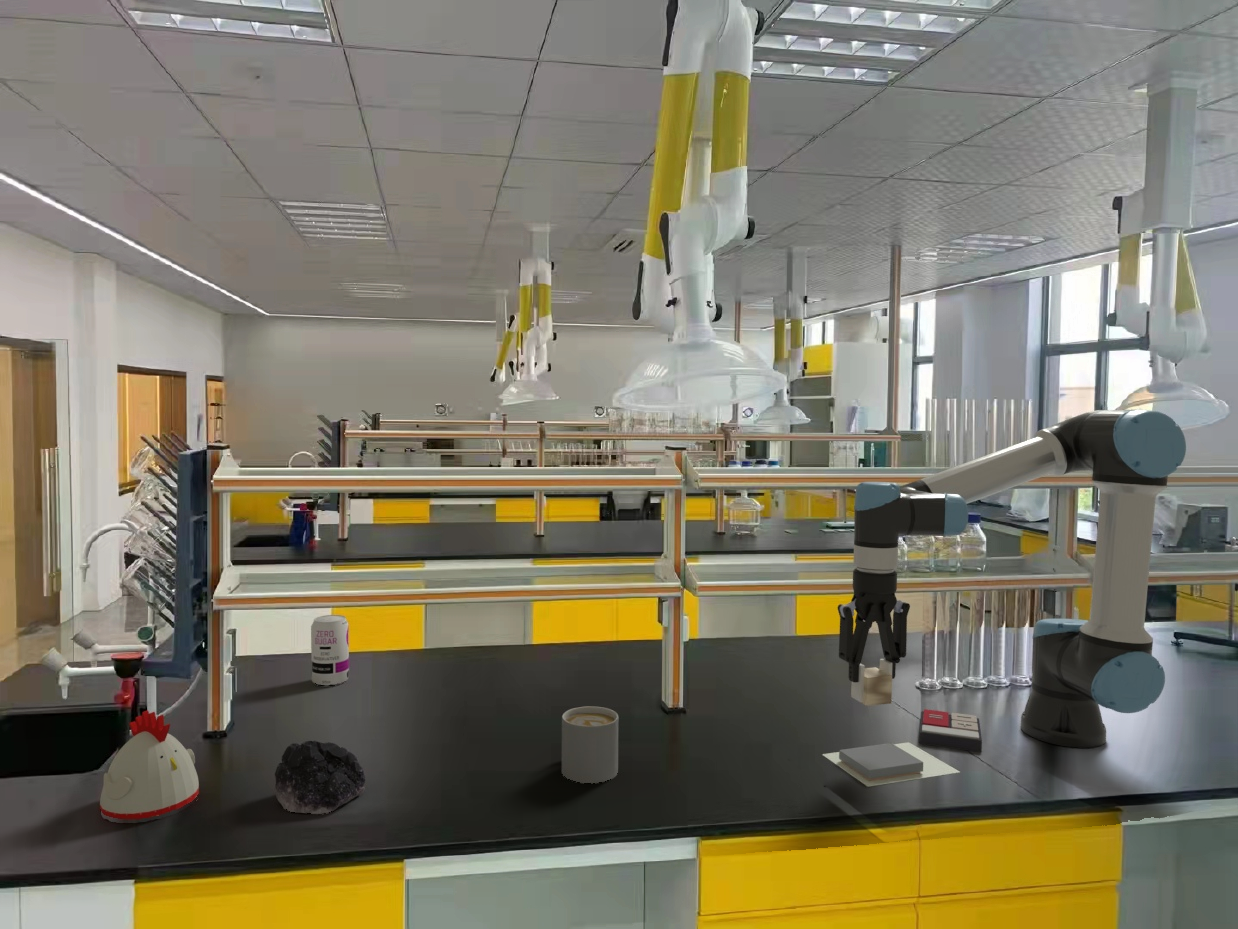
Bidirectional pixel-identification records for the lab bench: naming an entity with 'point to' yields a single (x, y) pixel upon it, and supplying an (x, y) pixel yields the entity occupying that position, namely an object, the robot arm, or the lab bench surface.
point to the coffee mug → (590, 744)
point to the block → (876, 687)
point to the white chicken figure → (149, 773)
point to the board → (930, 769)
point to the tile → (880, 761)
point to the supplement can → (330, 649)
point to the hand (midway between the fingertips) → (871, 697)
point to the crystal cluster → (317, 777)
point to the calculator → (950, 730)
